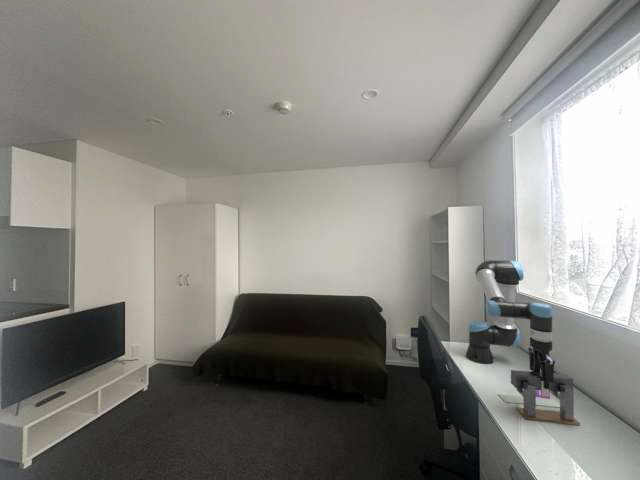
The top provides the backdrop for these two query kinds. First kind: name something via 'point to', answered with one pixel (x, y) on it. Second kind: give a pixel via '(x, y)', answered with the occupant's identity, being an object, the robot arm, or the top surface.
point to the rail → (535, 377)
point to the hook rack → (546, 415)
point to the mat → (539, 401)
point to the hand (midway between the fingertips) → (541, 391)
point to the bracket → (538, 394)
